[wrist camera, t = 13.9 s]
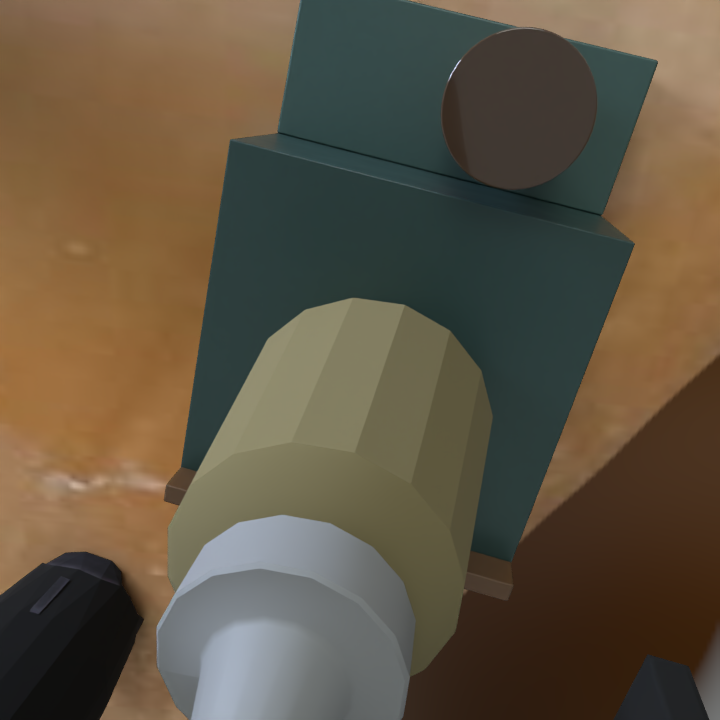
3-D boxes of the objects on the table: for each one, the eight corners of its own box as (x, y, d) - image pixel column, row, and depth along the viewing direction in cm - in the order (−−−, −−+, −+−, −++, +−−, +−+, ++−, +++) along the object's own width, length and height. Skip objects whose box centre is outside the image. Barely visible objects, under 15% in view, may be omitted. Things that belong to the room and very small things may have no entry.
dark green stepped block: (324, -9, 30) (244, -73, 19) (635, 66, 29) (729, 42, 19) (250, 389, 38) (163, 501, 27) (496, 459, 37) (507, 602, 26)
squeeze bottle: (524, 314, 24) (652, 807, 7) (445, 501, 27) (403, 1158, 10) (305, 239, 24) (-79, 542, 7) (252, 433, 27) (-106, 961, 10)
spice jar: (466, 35, 26) (464, 9, 20) (582, 63, 26) (621, 47, 19) (434, 155, 28) (423, 170, 21) (543, 182, 28) (566, 206, 21)
